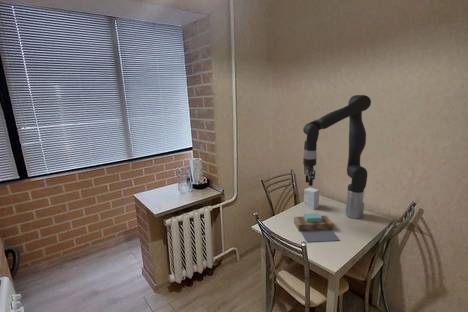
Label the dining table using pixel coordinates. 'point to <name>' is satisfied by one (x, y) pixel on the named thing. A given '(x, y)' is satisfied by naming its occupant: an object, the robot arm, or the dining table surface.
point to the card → (313, 217)
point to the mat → (319, 236)
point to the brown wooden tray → (313, 224)
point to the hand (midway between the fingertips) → (308, 183)
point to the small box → (311, 198)
